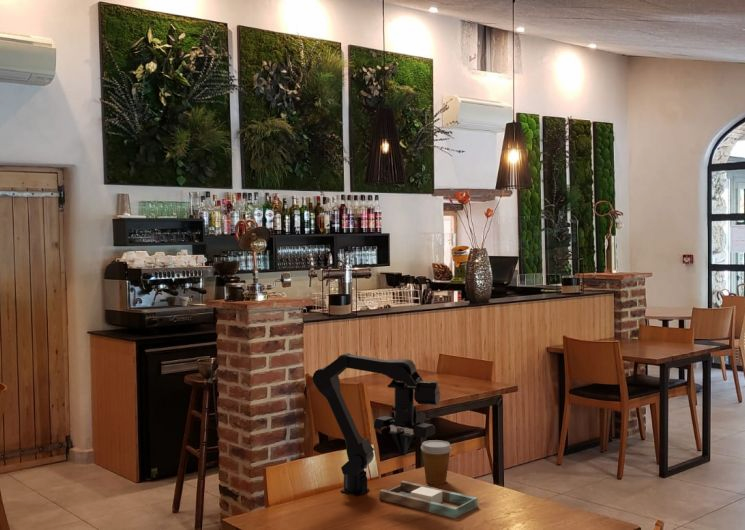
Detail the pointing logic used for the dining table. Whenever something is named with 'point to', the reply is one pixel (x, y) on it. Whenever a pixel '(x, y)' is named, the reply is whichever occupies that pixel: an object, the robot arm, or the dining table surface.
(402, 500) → the box
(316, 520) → the dining table surface
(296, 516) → the dining table surface
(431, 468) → the disposable coffee cup
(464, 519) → the dining table surface
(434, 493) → the ivory block
